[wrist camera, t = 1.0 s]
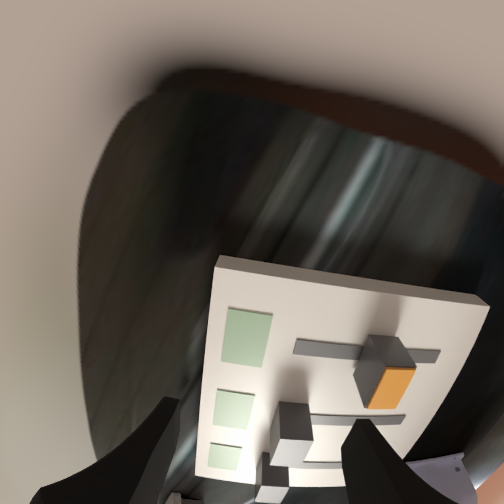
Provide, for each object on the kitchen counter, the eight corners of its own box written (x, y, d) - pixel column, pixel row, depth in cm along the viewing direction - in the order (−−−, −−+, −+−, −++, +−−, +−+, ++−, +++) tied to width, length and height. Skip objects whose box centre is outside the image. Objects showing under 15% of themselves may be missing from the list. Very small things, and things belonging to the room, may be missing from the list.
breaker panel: (475, 294, 18) (517, 329, 13) (379, 468, 24) (389, 508, 19) (220, 254, 18) (202, 293, 13) (198, 459, 24) (188, 504, 19)
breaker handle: (398, 336, 17) (418, 368, 13) (381, 376, 17) (396, 410, 14) (368, 334, 16) (385, 367, 13) (352, 374, 17) (364, 410, 14)
